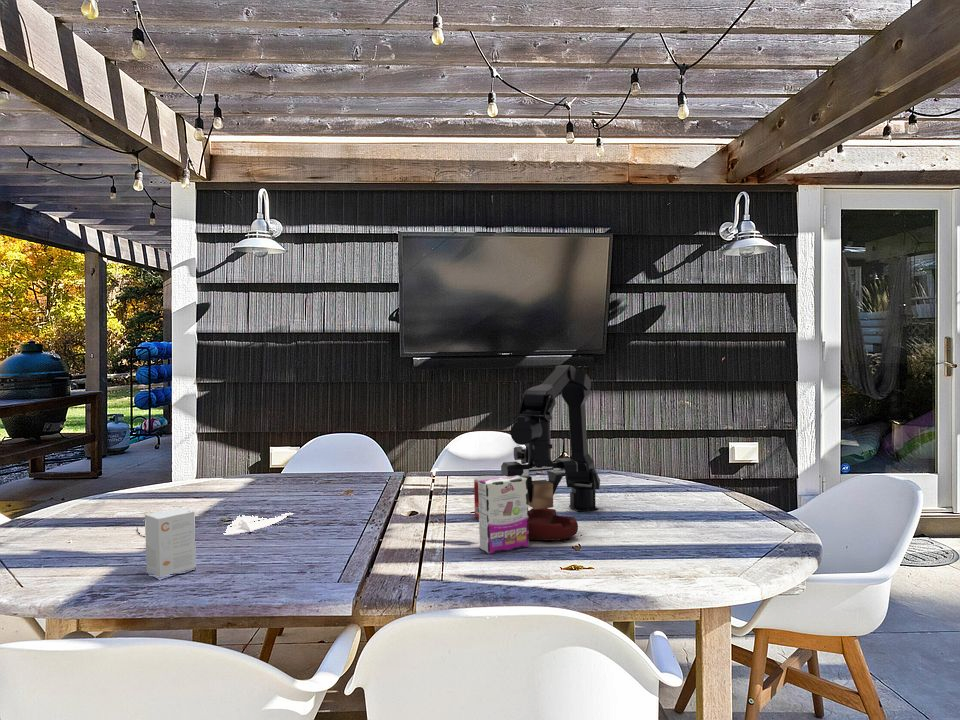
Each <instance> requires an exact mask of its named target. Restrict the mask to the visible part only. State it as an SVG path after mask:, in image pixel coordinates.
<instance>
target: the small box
mask: <svg viewBox="0 0 960 720" xmlns="http://www.w3.org/2000/svg"><path fill="white" fill-rule="evenodd" d="M144 520H145V535H146V538H145V560H146V561H145V562H146V572H147V571H148V572H150V573H152V574H154V575H156V576H159V577H161V576H165V575H170V574H173V573H177V572H181V571H185V570H188V569H191V568H194V567H196V568H197V549H196V546H197V543H196V542H197V541H195V511H192V510H189V509H186V507H176V508H172V509H166V510H161V511H156V512H151V513H146V514H144Z"/></svg>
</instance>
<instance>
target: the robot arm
mask: <svg viewBox="0 0 960 720" xmlns="http://www.w3.org/2000/svg"><path fill="white" fill-rule="evenodd" d="M591 388H592V380H591V378H590V377H589V375H588V374H587V373H586V372H583V371H581V370H578V369H577V368H576V367H575V366H572V365H569V364H568V365H564V364H563V365H557V366H554V369H553V371H552V372H551V373H550V375H549V376H547V377H546V378H545V379H544V381H543V382H541V384H539V385H534V386H532V387H529V388H528V389H526V390H525V392H524V393H523V395H522V397H521V400H520V404H519V407H518V411H517V414H516V417H517V421H516V422H513V424H512V426H511V428H510V436H511V440H512V441H513V442H514V443H515V444H516V445H519V446H515V447H514V448H513V459H514V461H504V462H502V464H501V465H500V472H501V475H504V476H505V477H509V476H517V475H518V476H522V477H525V478H527V491H528V501H529V502H530V503H531V502H532V481H533V478H532V477H533V476H532V475H530V472H544V471H546V473H547V478H548V479H547V481H549V482H551V483H553V496H554V495H555V493H556V491H557V489H558V486H559V484H560V483H561V481H562V479H563V477H565V482H566V487H567V488H570V489H571V490H570V491H571V492H569V505H568V506H569V507H570V508H571V509H573V510H575V511H577V512H586V511H587V512H589V511H597V510H599V507H597V506H596V502H597V501H596V490H600V488H601V487H600V485H601V479H600V476H599V474H598V472H597V470H596V468H595V462H594V460H593V458H592V457H591V455H590V454H589V452H588V438H587V437H588V435H587V434H588V433H587V418H586V402H587V400H588V399H589V397H590V394H591ZM559 393H561V397H562V399H563V400H564V402H565V403H566V405H567V409H568V423H569V425H568V427H569V438H570V439H569V442H570V443H569V444H570V456H569V457H562V458H561V457H560V458H559V457H558V458H555V459H554V461H553V460H552V458H551V457H552V453H551V452H552V450H553V444H552V442H551V421H552V420H553V416H552V413H553V410H554V408H555V406H556V404H557V403H556V401H557V400H556V397H557V396H558V395H559ZM520 445H521V446H520ZM522 445H523V446H525V448H523V447H522ZM551 449H552V450H551ZM518 461H520V462H518Z"/></svg>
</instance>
